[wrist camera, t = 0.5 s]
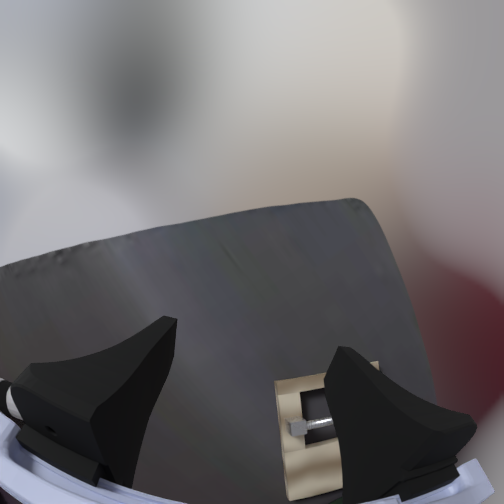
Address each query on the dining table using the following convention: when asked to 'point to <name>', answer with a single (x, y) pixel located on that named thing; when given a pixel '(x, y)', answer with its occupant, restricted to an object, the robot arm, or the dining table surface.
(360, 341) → the dining table surface
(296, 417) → the threaded rod assembly
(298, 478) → the beige board with cutout
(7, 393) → the cable
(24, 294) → the dining table surface
